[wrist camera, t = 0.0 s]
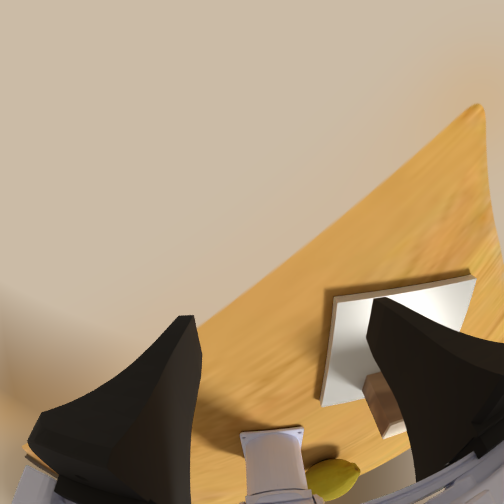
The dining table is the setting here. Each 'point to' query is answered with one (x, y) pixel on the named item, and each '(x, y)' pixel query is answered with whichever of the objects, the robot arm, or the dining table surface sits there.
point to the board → (356, 324)
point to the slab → (383, 405)
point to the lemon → (331, 478)
